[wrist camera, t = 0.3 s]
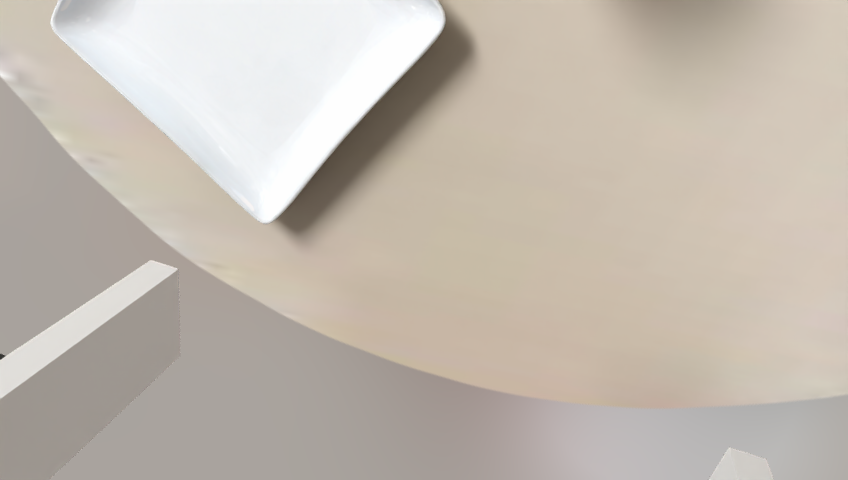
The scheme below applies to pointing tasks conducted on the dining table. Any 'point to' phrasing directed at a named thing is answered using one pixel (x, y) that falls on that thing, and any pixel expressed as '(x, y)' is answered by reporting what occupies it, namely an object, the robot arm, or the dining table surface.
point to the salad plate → (252, 77)
